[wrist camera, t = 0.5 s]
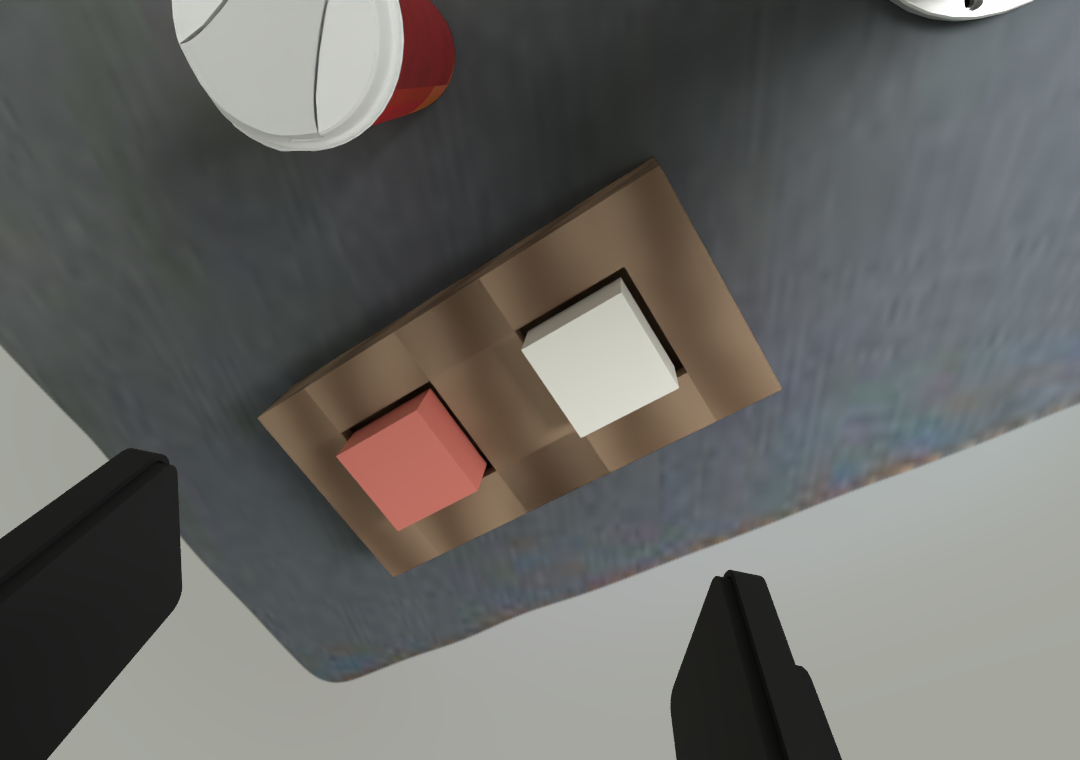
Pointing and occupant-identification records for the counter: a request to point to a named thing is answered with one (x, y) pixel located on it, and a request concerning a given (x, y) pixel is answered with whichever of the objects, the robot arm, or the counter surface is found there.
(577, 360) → the white key
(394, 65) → the coffee cup
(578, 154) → the counter surface
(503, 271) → the panel
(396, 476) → the red key
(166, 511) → the robot arm
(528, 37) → the counter surface
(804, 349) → the counter surface
